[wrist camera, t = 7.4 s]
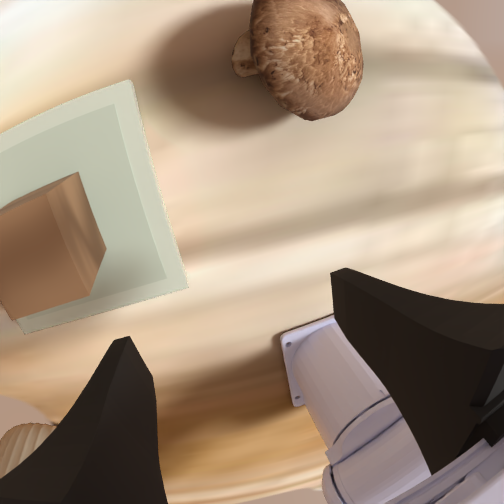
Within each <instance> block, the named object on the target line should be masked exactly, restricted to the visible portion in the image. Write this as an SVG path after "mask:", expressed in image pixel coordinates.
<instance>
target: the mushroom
mask: <svg viewBox="0 0 504 504" xmlns="http://www.w3.org/2000/svg"><path fill="white" fill-rule="evenodd" d="M231 61H232V67H233V69H234V71H235V73H236V75H238V76H241V77H247V76H251V75H254V74H259V76H260V79H261V81H262V84H263V85H264V86H265V88H266V89H267V90H268V91H269V92H270V94H271V95H272V96H273V97H274V99H275V100H276V101H277V102H278V104H279V105H280V106H281V107H283V108H285V109H286V110H288V111H290V112H292V113H294V114H295V115H297V116H299V117H301V118H303V119H304V120H309V121H314V120H318V119H321V118H325V117H329V116H333V115H335V114H337V113H339V112H341V111H342V110H343V109H344V108H345V107H346V106H347V105H348V104H349V103H350V101H351V100H352V99H353V97H354V95H355V93H356V91H357V89H358V87H359V85H360V83H361V80H362V74H363V57H362V51H361V44H360V36H359V32H358V29H357V27H356V25H355V23H354V21H353V19H352V17H351V15H350V13H349V11H348V10H347V8H346V6H345V4H344V3H343V2H342V1H341V0H254V1H253V5H252V12H251V19H250V30H248V31H247V32H246V33H244V34H243V35H242V36H241V37H239V39H238V41H237V43H236V45H235V47H234V50H233V54H232V57H231Z"/></svg>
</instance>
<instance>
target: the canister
mask: <svg viewBox="0 0 504 504" xmlns="http://www.w3.org/2000/svg"><path fill="white" fill-rule="evenodd" d="M55 428H56V426H55V425H54V426H51V425H47V424H39V423H36V424H33V423H28V424H21V425H18V426H15V427H13V428H12V429H10V430H9V431H7V432H6V433H5V435H4V436H3V437H2V438H1V440H0V478H2V477H3V476H5V475H6V474H7V473H9V472H10V471H11V470H13V469H14V468H15V467H17V466H18V465H19V464H20V463H21V462H23V461H24V460H25V459H26V458H27V457H28V456H29V455H30V454H32V453H33V452H34V451H35V450H36V449H37V448H38V447H39V446H40V445H41V444H42V443H43V441H44V440H45V439H46V438H47V437H48V436H49V435H50V434H51V433H52V432H53V431H54V429H55Z"/></svg>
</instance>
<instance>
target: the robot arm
mask: <svg viewBox="0 0 504 504" xmlns="http://www.w3.org/2000/svg"><path fill="white" fill-rule="evenodd" d="M330 275H331V285H332V296H333V308H334V315H332V316H330V317H327V318H324V319H322V320H319V321H316V322H313V323H311V324H308V325H305V326H302V327H300V328H297V329H294V330H291V331H288V332H285V333H283V334H282V335H281V337H280V341H281V346H282V352H283V357H284V362H285V367H286V372H287V377H288V382H289V388H290V393H291V398H292V403H293V405H294V406H295V407H298V406H301V405H304V404H305V406H306V407H307V409H308V411H309V413H310V415H311V417H312V419H313V421H314V423H315V425H316V427H317V429H318V431H319V433H320V435H321V437H322V439H323V440H324V442H325V444H326V446H327V447H328V450H327V451H326V452H325V454H326V456H327V458H328V460H329V462H330V463H331V464H329V465H328V466H326V467H325V468H324V470H323V478H322V489H323V493H324V496H325V499H326V501H327V503H328V504H504V304H483V303H471V302H463V301H455V300H449V299H444V298H439V297H434V296H430V295H426V294H422V293H419V292H415V291H412V290H408V289H405V288H402V287H399V286H396V285H393V284H390V283H388V282H385V281H382V280H379V279H377V278H374V277H371V276H369V275H366V274H363V273H361V272H358V271H355V270H352V269H349V268H343V269H340V270H337V271H334V272H332V273H330ZM288 342H289V343H288ZM286 343H288V344H286ZM0 504H168V502H167V498H166V494H165V490H164V485H163V480H162V475H161V470H160V465H159V456H158V437H157V407H156V396H155V389H154V382H153V376H152V375H151V373H150V371H149V370H148V368H147V366H146V364H145V363H144V361H143V359H142V357H141V356H140V354H139V352H138V350H137V348H136V347H135V345H134V343H133V341H132V339H131V337H130V336H127V337H124V338H120V339H116V340H114V341H113V342H112V344H111V345H110V347H109V349H108V350H107V352H106V353H105V355H104V357H103V359H102V360H101V362H100V364H99V365H98V367H97V369H96V370H95V372H94V374H93V375H92V377H91V379H90V380H89V382H88V384H87V385H86V387H85V388H84V390H83V391H82V393H81V394H80V396H79V397H78V399H77V400H76V402H75V404H74V405H73V406H72V408H71V409H70V411H69V412H68V413H67V415H66V416H65V417H64V418H63V420H62V421H61V422H60V423H59V425H58V426H57V427H56V428H55V429H54V431H53V432H52V433H51V434H50V435H49V436H48V437H47V438H46V439H45V440H44V441H43V443H42V444H41V445H40V446H39V447H38V448H37V449H36V450H35V451H34V452H33V453H32V454H30V455H29V456H28V457H27V458H26V459H25V460H24V461H23V462H21V463H20V464H19V465H18V466H17V467H15V468H14V469H13V470H11V471H10V472H9V473H7V474H6V475H5V476H3V477H2V478H0Z"/></svg>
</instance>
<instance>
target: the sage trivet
mask: <svg viewBox="0 0 504 504" xmlns="http://www.w3.org/2000/svg"><path fill="white" fill-rule="evenodd" d="M76 172H79V175H80V178H81V181H82V184H83V187H84V190H85V193H86V195H87V198H88V201H89V204H90V207H91V209H92V212H93V215H94V217H95V220H96V223H97V225H98V228H99V231H100V233H101V236H102V238H103V241H104V243H105V246H106V248H107V249H106V252H105V255H104V257H103V260H102V262H101V265H100V268H99V270H98V273H97V276H96V279H95V281H94V284H93V287H92V290H91V293H90V296H87V297H84V298H81V299H78V300H75V301H71V302H68V303H65V304H62V305H59V306H56V307H53V308H50V309H47V310H44V311H40V312H37V313H34V314H31V315H28V316H25V317H22V318H19V319H16V321H17V323H18V324H19V326H20V328H21V329H22V331H23V333H24V334H28V333H31V332H35V331H39V330H42V329H46V328H50V327H53V326H57V325H60V324H64V323H68V322H71V321H75V320H78V319H82V318H85V317H89V316H93V315H96V314H100V313H103V312H107V311H110V310H114V309H117V308H121V307H124V306H128V305H131V304H135V303H138V302H142V301H145V300H148V299H152V298H155V297H159V296H162V295H166V294H169V293H172V292H176V291H179V290H183V289H186V288H189V286H188V280H187V274H186V271H185V268H184V265H183V262H182V259H181V255H180V252H179V249H178V246H177V243H176V240H175V237H174V233H173V230H172V227H171V224H170V220H169V217H168V214H167V211H166V207H165V204H164V200H163V197H162V194H161V190H160V187H159V183H158V180H157V176H156V172H155V169H154V165H153V162H152V158H151V154H150V150H149V147H148V143H147V139H146V135H145V131H144V127H143V123H142V119H141V115H140V111H139V107H138V102H137V98H136V94H135V90H134V85H133V83H132V81H131V80H130V79H129V80H125V81H122V82H119V83H116V84H113V85H110V86H107V87H105V88H102V89H99V90H96V91H93V92H91V93H88V94H86V95H83V96H80V97H78V98H75V99H73V100H70V101H68V102H66V103H63V104H61V105H59V106H56V107H54V108H52V109H49V110H47V111H45V112H43V113H41V114H39V115H36V116H34V117H32V118H30V119H28V120H26V121H24V122H22V123H20V124H18V125H16V126H14V127H12V128H10V129H9V130H7V131H5V132H3V133H1V134H0V209H1V208H2V207H4V206H5V205H7V204H8V203H10V202H11V201H13V200H15V199H17V198H19V197H22V196H24V195H26V194H28V193H30V192H32V191H34V190H36V189H39V188H41V187H43V186H45V185H47V184H50V183H52V182H54V181H57V180H59V179H61V178H64V177H66V176H68V175H71V174H73V173H76Z"/></svg>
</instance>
